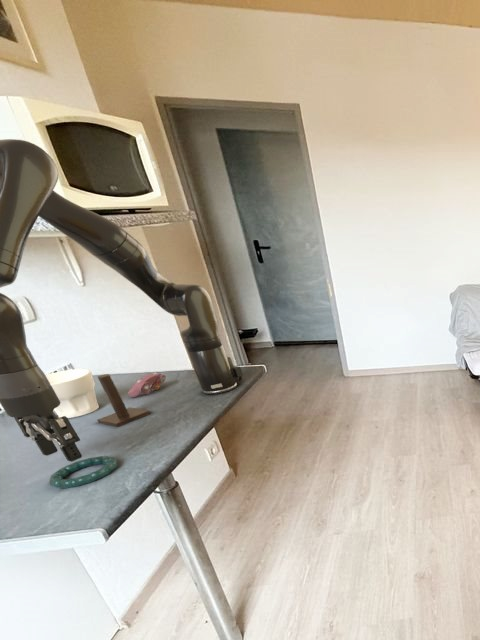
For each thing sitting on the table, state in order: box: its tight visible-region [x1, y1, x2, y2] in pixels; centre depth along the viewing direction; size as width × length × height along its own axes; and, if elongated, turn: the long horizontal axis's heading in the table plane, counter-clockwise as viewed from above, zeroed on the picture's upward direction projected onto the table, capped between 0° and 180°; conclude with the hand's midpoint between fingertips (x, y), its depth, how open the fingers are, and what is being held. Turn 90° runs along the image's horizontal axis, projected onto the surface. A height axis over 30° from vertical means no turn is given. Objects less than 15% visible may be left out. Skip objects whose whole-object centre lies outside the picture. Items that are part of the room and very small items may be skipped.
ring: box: [48, 455, 118, 489], centre depth 92 cm, size 11×11×2 cm
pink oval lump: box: [128, 372, 167, 398], centre depth 132 cm, size 10×5×7 cm, turn 179°
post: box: [96, 373, 151, 428], centre depth 114 cm, size 8×8×13 cm
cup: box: [45, 368, 100, 419], centre depth 118 cm, size 12×12×11 cm
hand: (63, 456), depth 91 cm, fingers open, 8 cm apart
